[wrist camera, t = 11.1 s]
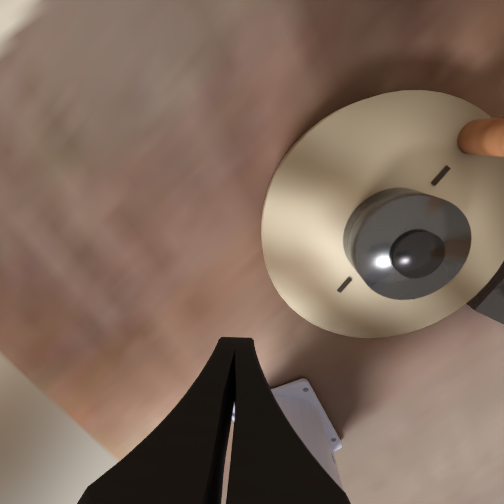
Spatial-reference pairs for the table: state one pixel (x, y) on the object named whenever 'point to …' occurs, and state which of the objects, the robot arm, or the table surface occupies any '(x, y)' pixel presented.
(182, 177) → the table surface
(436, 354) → the table surface
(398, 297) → the iron cover
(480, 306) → the grey and clear piece
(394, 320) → the turntable
